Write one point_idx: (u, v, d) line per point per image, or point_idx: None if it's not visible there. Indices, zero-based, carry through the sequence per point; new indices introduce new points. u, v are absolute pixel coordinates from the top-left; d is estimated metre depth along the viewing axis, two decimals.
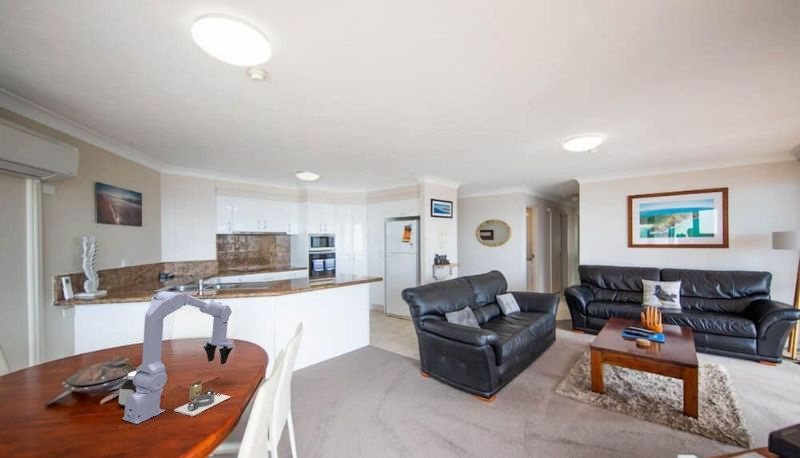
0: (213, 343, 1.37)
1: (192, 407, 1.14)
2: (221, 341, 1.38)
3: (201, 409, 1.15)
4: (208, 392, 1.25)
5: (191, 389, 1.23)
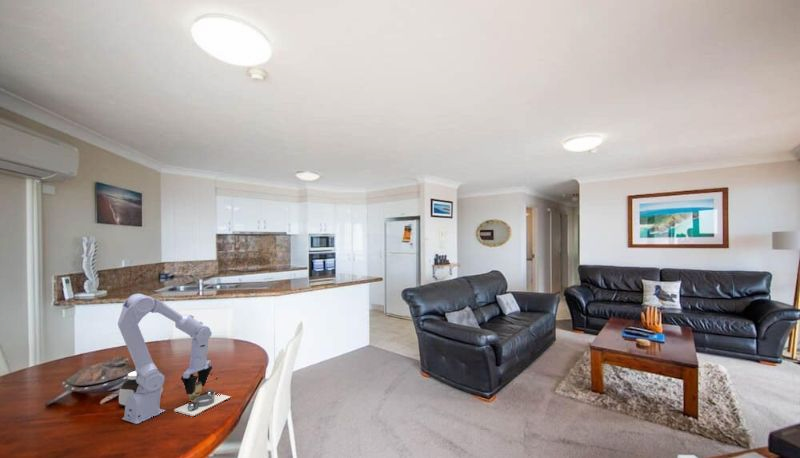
0: None
1: (192, 407, 1.14)
2: (191, 367, 1.23)
3: (201, 409, 1.15)
4: (208, 392, 1.25)
5: None
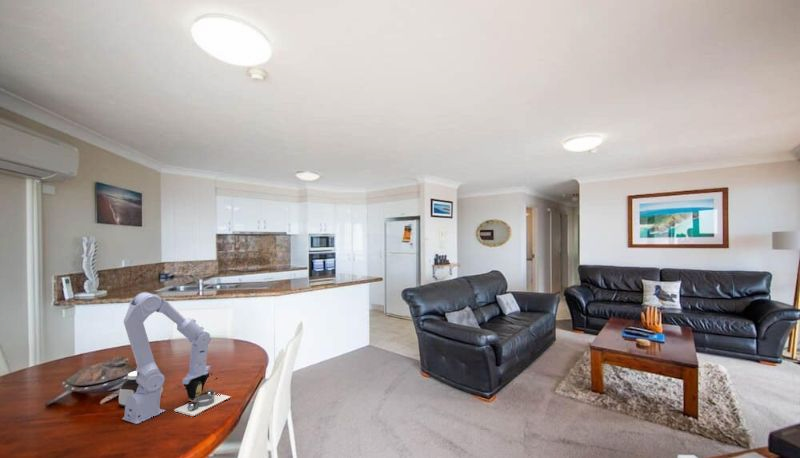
0: None
1: (192, 407, 1.14)
2: (190, 373, 1.23)
3: (201, 409, 1.15)
4: (208, 392, 1.25)
5: None
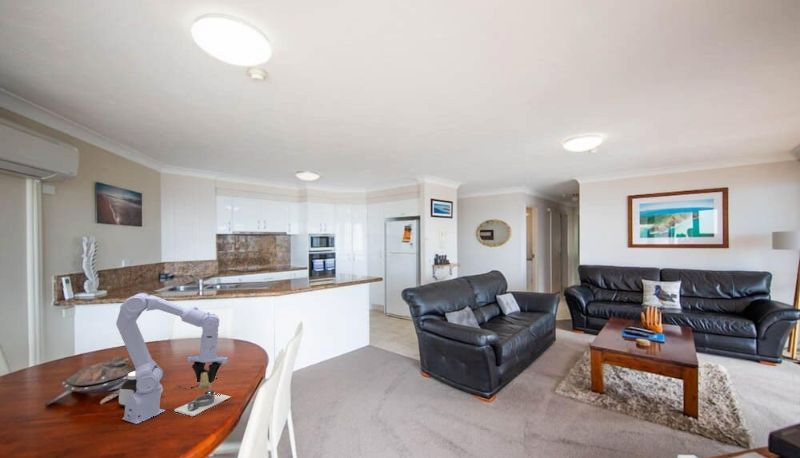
0: (203, 360, 1.19)
1: (192, 407, 1.14)
2: (213, 357, 1.21)
3: (201, 409, 1.15)
4: (208, 392, 1.25)
5: (209, 375, 1.21)
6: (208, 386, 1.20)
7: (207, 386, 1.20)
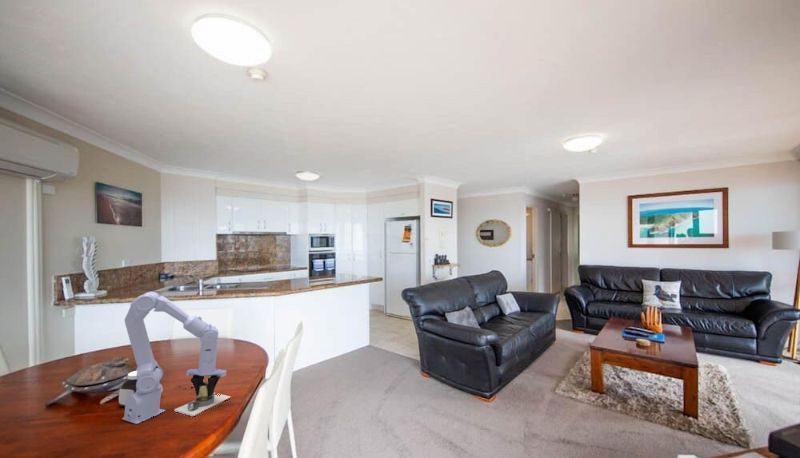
0: (202, 373, 1.19)
1: (192, 407, 1.14)
2: (212, 370, 1.21)
3: (201, 409, 1.15)
4: None
5: None
6: (207, 399, 1.20)
7: (206, 399, 1.19)
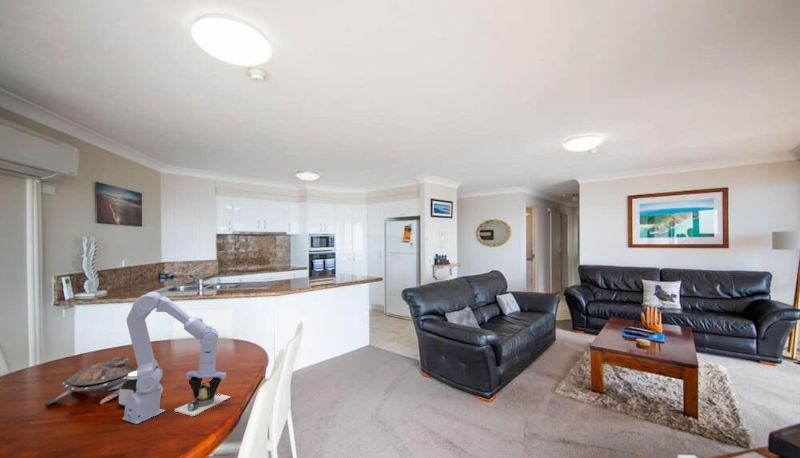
0: (202, 376, 1.19)
1: (192, 407, 1.14)
2: (212, 372, 1.21)
3: (201, 409, 1.15)
4: None
5: (208, 391, 1.20)
6: None
7: None
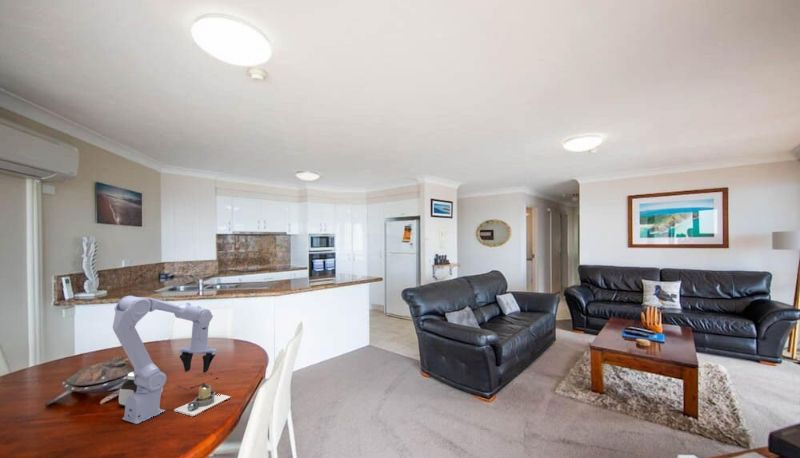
0: (194, 351, 1.26)
1: (192, 407, 1.14)
2: (203, 348, 1.28)
3: (201, 409, 1.15)
4: None
5: (208, 391, 1.20)
6: None
7: None
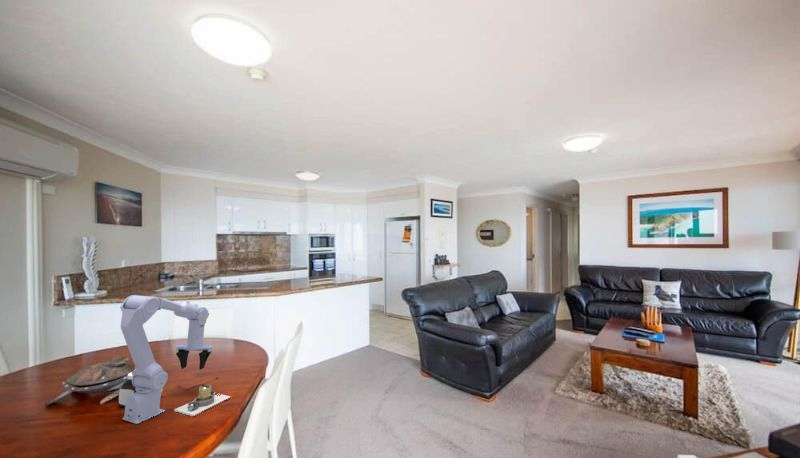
0: (190, 348, 1.29)
1: (192, 407, 1.14)
2: (199, 345, 1.31)
3: (201, 409, 1.15)
4: None
5: (208, 390, 1.20)
6: None
7: None
